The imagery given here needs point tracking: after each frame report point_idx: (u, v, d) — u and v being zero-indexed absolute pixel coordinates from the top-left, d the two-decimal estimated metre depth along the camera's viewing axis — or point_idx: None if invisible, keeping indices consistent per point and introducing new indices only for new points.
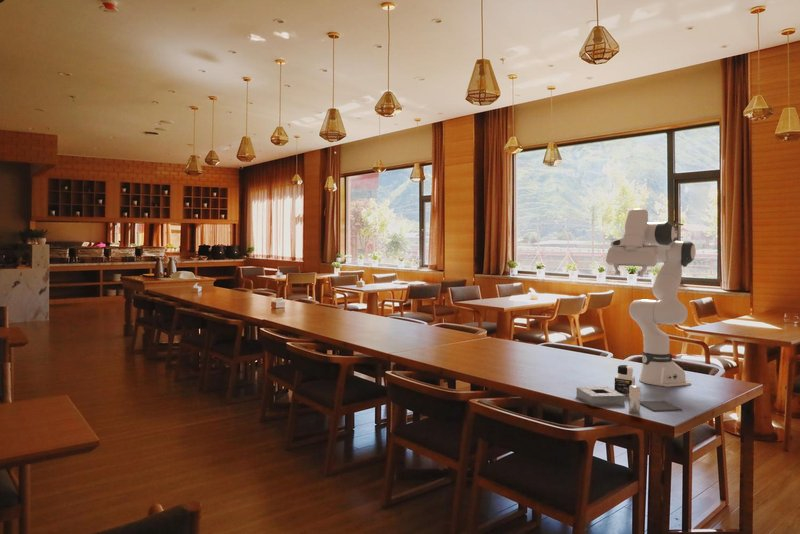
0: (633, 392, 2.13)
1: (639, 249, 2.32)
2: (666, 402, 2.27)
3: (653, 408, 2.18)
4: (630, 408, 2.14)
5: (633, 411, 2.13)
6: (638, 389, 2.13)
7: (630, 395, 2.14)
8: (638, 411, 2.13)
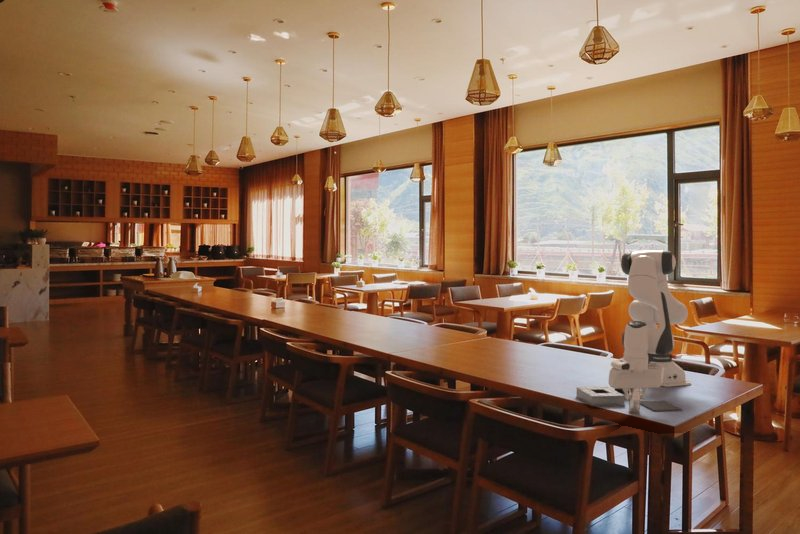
0: (633, 392, 2.13)
1: (646, 371, 2.13)
2: (666, 402, 2.27)
3: (653, 408, 2.18)
4: (630, 408, 2.14)
5: (633, 411, 2.13)
6: (638, 389, 2.13)
7: None
8: (638, 411, 2.13)
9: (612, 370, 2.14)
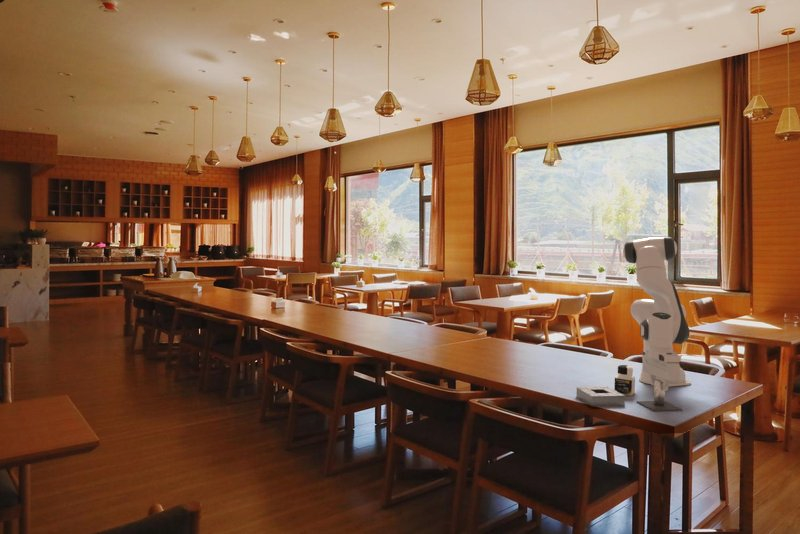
0: None
1: None
2: (666, 402, 2.27)
3: (653, 408, 2.18)
4: (662, 402, 2.21)
5: (664, 403, 2.22)
6: None
7: (663, 390, 2.21)
8: None
9: (672, 365, 2.13)
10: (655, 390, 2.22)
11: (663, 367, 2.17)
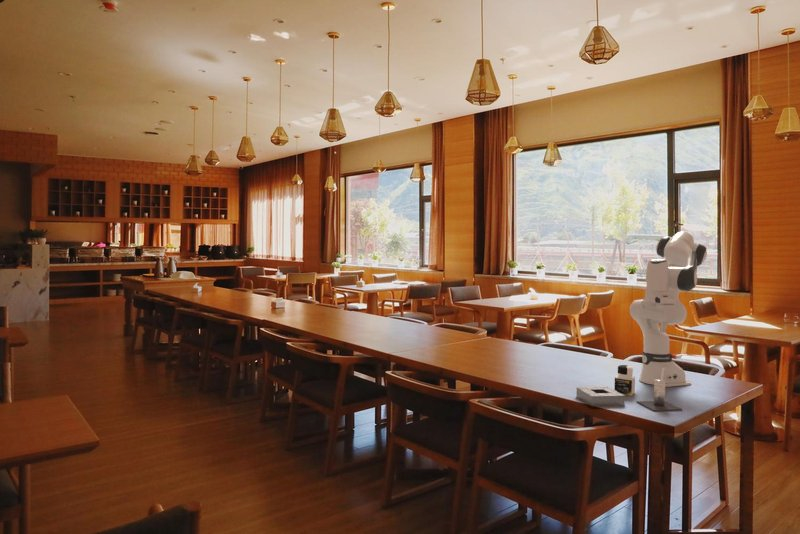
0: None
1: None
2: (666, 402, 2.27)
3: (653, 408, 2.18)
4: (663, 402, 2.21)
5: (664, 404, 2.22)
6: None
7: (662, 389, 2.21)
8: None
9: (668, 306, 2.23)
10: (655, 390, 2.22)
11: (659, 309, 2.27)
